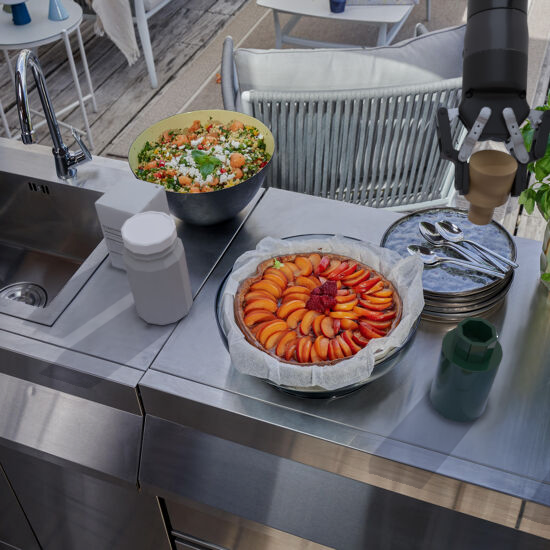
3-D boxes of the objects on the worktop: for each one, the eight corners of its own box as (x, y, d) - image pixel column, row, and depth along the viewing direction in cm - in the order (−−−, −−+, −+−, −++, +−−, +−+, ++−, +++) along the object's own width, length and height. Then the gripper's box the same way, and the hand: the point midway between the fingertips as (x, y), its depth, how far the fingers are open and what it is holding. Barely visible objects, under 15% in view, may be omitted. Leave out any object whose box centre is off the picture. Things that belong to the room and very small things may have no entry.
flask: (482, 380, 97) (504, 311, 86) (488, 425, 91) (512, 357, 81) (428, 376, 98) (444, 306, 87) (431, 420, 92) (448, 352, 82)
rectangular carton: (138, 237, 124) (123, 173, 113) (178, 249, 121) (166, 184, 110) (110, 267, 118) (92, 202, 107) (151, 280, 115) (137, 215, 104)
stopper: (499, 205, 84) (514, 150, 78) (504, 233, 80) (521, 177, 74) (455, 203, 85) (467, 148, 79) (458, 230, 81) (471, 174, 75)
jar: (140, 289, 113) (120, 208, 101) (195, 286, 113) (182, 205, 101) (133, 330, 106) (111, 249, 94) (192, 327, 106) (177, 246, 94)
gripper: (440, 45, 75) (434, 189, 74) (567, 46, 74) (562, 193, 73) (430, 67, 82) (424, 198, 82) (545, 68, 81) (540, 201, 81)
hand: (489, 194), depth 78 cm, fingers closed on stopper, 5 cm apart
